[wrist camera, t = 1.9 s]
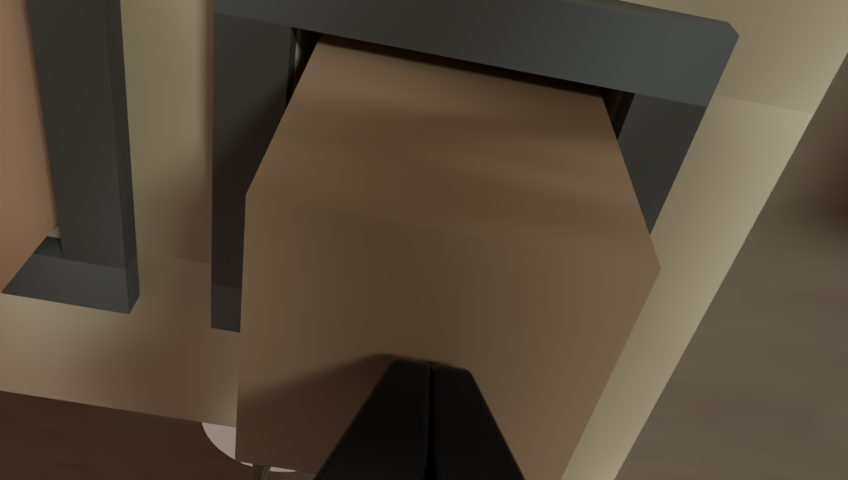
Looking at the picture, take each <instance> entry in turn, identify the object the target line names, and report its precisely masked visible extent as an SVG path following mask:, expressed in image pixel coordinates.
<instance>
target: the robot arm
mask: <svg viewBox="0 0 848 480" xmlns="http://www.w3.org/2000/svg"><path fill="white" fill-rule="evenodd" d="M313 480H525V478H524V476H523V474H522V472H521V470H520V468H519V466H518V464H517V462H516V460H515V458H514V456H513V454H512V452H511V450H510V448H509V446H508V444H507V442H506V440H505V438H504V436H503V434H502V432H501V430H500V428H499V426H498V424H497V422H496V420H495V418H494V416H493V414H492V412H491V410H490V409H489V407H488V405H487V403H486V401H485V399H484V397H483V395H482V393H481V391H480V389H479V387H478V385H477V383H476V381H475V379H474V377H473V375H472V373H471V372H470V371H468V370H467V369H464V368H458V367H452V366H446V365H440V364H436V365H434V366H433V367H432V368H430V365H429V364H428V363H426V362H422V361H416V360H410V359H404V358H395V359H393V360H392V361H391V362H390V364H389V365H388V367H387V368H386V370H385V371H384V373H383V374H382V376H381V377H380V379H379V380H378V382H377V383H376V385H375V386H374V388H373V389H372V391H371V392H370V394H369V396H368V397H367V399H366V400H365V402H364V403H363V405H362V406H361V408H360V409H359V411H358V412H357V414H356V415H355V417H354V418H353V420H352V421H351V423H350V424H349V426H348V428H347V429H346V431H345V432H344V434H343V435H342V437H341V438H340V440H339V441H338V443H337V444H336V446H335V447H334V449H333V450H332V452H331V453H330V455H329V456H328V458H327V459H326V461H325V463H324V464H323V466H322V467H321V469H320V470H319V472H318V473H317V475H316V476H315V478H314V479H313Z"/></svg>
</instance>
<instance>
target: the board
mask: <svg viewBox="0 0 848 480" xmlns="http://www.w3.org/2000/svg"><path fill="white" fill-rule="evenodd" d="M27 5H28V12H29V19H30V26H31V33H32V40H33V47H34V55H35V62H36V69H37V76H38V83H39V90H40V97H41V104H42V111H43V118H44V125H45V132H46V139H47V146H48V153H49V160H50V167H51V174H52V181H53V188H54V195H55V202H56V209H57V216H58V223H57V224H56V225H55V227H54V228H53V229H52V230H51V231H50V233H49V234H48V235H47V236H46V238H45V239H44V240H43V241H42V243H41V244H40V245H39V246H38V247H37V249H36V250H35V251H34V252H33V254H32V255H31V256H30V257H29V258H28V260H27V261H26V262H25V263H24V265H23V266H22V267H21V268H20V270H19V271H18V272H17V273H16V274H15V276H14V277H13V278H12V279H11V281H10V282H9V283H8V284H7V286H6V287H5V288H4V289H3V290H2V292H1V293H0V391H6V392H13V393H19V394H25V395H32V396H38V397H45V398H51V399H57V400H64V401H70V402H76V403H83V404H89V405H95V406H102V407H108V408H114V409H121V410H127V411H133V412H140V413H146V414H152V415H159V416H165V417H171V418H178V419H184V420H190V421H197V422H203V423H209V424H216V425H222V426H228V427H235V428H236V420H237V396H238V372H239V348H240V325H241V301H242V277H243V253H244V230H245V206H246V194H247V192H248V189H249V187H250V185H251V183H252V181H253V179H254V177H255V175H256V172H257V170H258V168H259V166H260V164H261V162H262V160H263V157H264V155H265V153H266V151H267V149H268V147H269V145H270V143H271V140H272V138H273V136H274V134H275V132H276V130H277V128H278V125H279V123H280V121H281V119H282V117H283V115H284V113H285V111H286V108H287V106H288V104H289V102H290V100H291V98H292V96H293V93H294V91H295V89H296V87H297V85H298V83H299V81H300V78H301V76H302V74H303V72H304V70H305V68H306V66H307V64H308V61H309V59H310V57H311V55H312V53H313V51H314V49H315V46H316V44H317V42H318V40H319V38H320V36H321V34H322V33H326V34H331V35H336V36H341V37H347V38H352V39H357V40H362V41H367V42H373V43H378V44H383V45H388V46H393V47H398V48H404V49H409V50H414V51H419V52H424V53H430V54H435V55H440V56H445V57H450V58H455V59H461V60H466V61H471V62H476V63H481V64H486V65H492V66H497V67H502V68H507V69H512V70H518V71H523V72H528V73H533V74H538V75H543V76H549V77H554V78H559V79H564V80H569V81H575V82H580V83H585V84H590V85H595V86H598V87H599V90H600V93H601V96H602V98H603V101H604V104H605V107H606V110H607V113H608V116H609V119H610V122H611V124H612V127H613V130H614V133H615V136H616V139H617V142H618V145H619V148H620V151H621V153H622V156H623V159H624V162H625V165H626V168H627V171H628V174H629V177H630V179H631V182H632V185H633V188H634V191H635V194H636V197H637V200H638V203H639V206H640V208H641V211H642V214H643V217H644V220H645V223H646V226H647V229H648V232H649V235H650V237H651V240H652V243H653V246H654V249H655V252H656V255H657V258H658V261H659V263H660V266H661V271H660V273H659V275H658V277H657V279H656V281H655V283H654V285H653V287H652V289H651V292H650V294H649V296H648V298H647V300H646V302H645V304H644V306H643V308H642V310H641V313H640V315H639V317H638V319H637V321H636V323H635V325H634V327H633V329H632V331H631V334H630V336H629V338H628V340H627V342H626V344H625V346H624V348H623V350H622V352H621V355H620V357H619V359H618V361H617V363H616V365H615V367H614V369H613V371H612V373H611V376H610V378H609V380H608V382H607V384H606V386H605V388H604V390H603V392H602V394H601V397H600V399H599V401H598V403H597V405H596V407H595V409H594V411H593V413H592V415H591V418H590V420H589V422H588V424H587V426H586V428H585V430H584V432H583V434H582V436H581V439H580V441H579V443H578V445H577V447H576V449H575V451H574V453H573V455H572V457H571V460H570V462H569V464H568V466H567V468H566V470H565V472H564V474H563V476H562V478H561V479H564V480H614V479H615V477H616V475H617V473H618V471H619V470H620V468H621V466H622V464H623V462H624V460H625V459H626V457H627V455H628V453H629V451H630V449H631V448H632V446H633V444H634V442H635V440H636V439H637V437H638V435H639V433H640V431H641V429H642V428H643V426H644V424H645V422H646V420H647V418H648V417H649V415H650V413H651V411H652V409H653V407H654V406H655V404H656V402H657V400H658V398H659V396H660V395H661V393H662V391H663V389H664V387H665V385H666V384H667V382H668V380H669V378H670V376H671V374H672V373H673V371H674V369H675V367H676V365H677V364H678V362H679V360H680V358H681V356H682V354H683V353H684V351H685V349H686V347H687V345H688V343H689V342H690V340H691V338H692V336H693V334H694V332H695V331H696V329H697V327H698V325H699V323H700V321H701V320H702V318H703V316H704V314H705V312H706V310H707V309H708V307H709V305H710V303H711V301H712V300H713V298H714V296H715V294H716V292H717V290H718V289H719V287H720V285H721V283H722V281H723V279H724V278H725V276H726V274H727V272H728V270H729V268H730V267H731V265H732V263H733V261H734V259H735V257H736V256H737V254H738V252H739V250H740V248H741V246H742V245H743V243H744V241H745V239H746V237H747V235H748V234H749V232H750V230H751V228H752V226H753V225H754V223H755V221H756V219H757V217H758V215H759V214H760V212H761V210H762V208H763V206H764V204H765V203H766V201H767V199H768V197H769V195H770V193H771V192H772V190H773V188H774V186H775V184H776V182H777V181H778V179H779V177H780V175H781V173H782V171H783V170H784V168H785V166H786V164H787V162H788V160H789V159H790V157H791V155H792V153H793V151H794V150H795V148H796V146H797V144H798V142H799V140H800V139H801V137H802V135H803V133H804V131H805V129H806V128H807V126H808V124H809V122H810V120H811V118H812V117H813V115H814V113H815V111H816V109H817V107H818V106H819V104H820V102H821V100H822V98H823V96H824V95H825V93H826V91H827V89H828V87H829V85H830V84H831V82H832V80H833V78H834V76H835V75H836V73H837V71H838V69H839V67H840V65H841V64H842V62H843V60H844V58H845V56H846V54H847V53H848V0H27Z"/></svg>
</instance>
